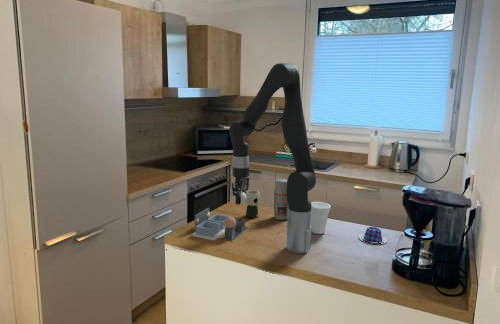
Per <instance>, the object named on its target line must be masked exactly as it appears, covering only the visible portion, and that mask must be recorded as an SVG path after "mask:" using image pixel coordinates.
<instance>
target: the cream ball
mask: <svg viewBox="0 0 500 324" xmlns="http://www.w3.org/2000/svg"><path fill="white" fill-rule="evenodd" d="M234 198H235V200H236V196H234ZM245 200H246V194H245V193H244V192H241V203H245Z"/></svg>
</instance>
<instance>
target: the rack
mask: <svg viewBox="0 0 500 324" xmlns="http://www.w3.org/2000/svg"><path fill="white" fill-rule="evenodd" d="M228 217H230V216H229V215H223V214H217V213H216V214H214V215H212V216H209V219H207V221H204V222H202V223H201V224H199V225H198V226H196V232H195V231H194V232H193V233H192V234H191V236H192V237H195V238H201V239H204V240H209V241H216V240H217V239H218V238H219V237H221V236H222V235H223V234H224V235H225V228H226V226H225V224H224V222H225V219H226V218H228Z"/></svg>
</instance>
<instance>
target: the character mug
mask: <svg viewBox="0 0 500 324" xmlns="http://www.w3.org/2000/svg"><path fill="white" fill-rule="evenodd" d="M260 193H261V192H260V191H259V190H257V189H256V190H255V189H248V191H247V193H246V201H244V203H245V205H247V206H246V211H245V216H246V217H249V218H257V217H258V216H259V208H258V206H259V204H260V196H261V194H260Z"/></svg>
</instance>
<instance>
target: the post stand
mask: <svg viewBox="0 0 500 324" xmlns="http://www.w3.org/2000/svg"><path fill="white" fill-rule="evenodd" d="M235 220H236V225H235V227H234V228H231V229H229V228H227V227H226V228H225V233H224V235H223V236H222V237H221V239H222V240H226V241H231V242H232V241H234V240H235V239H236V238H238V237H239V236H240V235H242V234H243V232H245V231H246V230H247V229H248V227H247V226H246V225H245V223H246V219H242V218H237V219H235Z"/></svg>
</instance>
